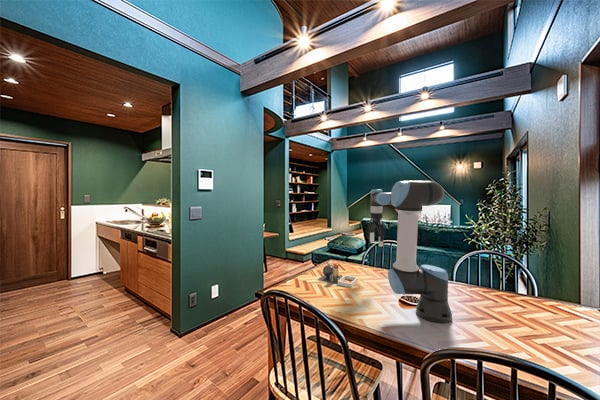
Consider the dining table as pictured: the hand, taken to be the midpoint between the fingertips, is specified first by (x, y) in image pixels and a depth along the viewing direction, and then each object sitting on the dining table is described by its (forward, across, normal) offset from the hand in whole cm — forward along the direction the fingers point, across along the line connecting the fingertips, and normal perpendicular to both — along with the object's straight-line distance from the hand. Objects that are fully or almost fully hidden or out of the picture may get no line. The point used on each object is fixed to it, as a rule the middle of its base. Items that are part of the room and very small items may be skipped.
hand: (376, 244), depth 161 cm
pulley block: (+24, +3, +30) cm, 39 cm away
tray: (+24, -4, +21) cm, 32 cm away
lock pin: (+24, 0, +28) cm, 36 cm away
